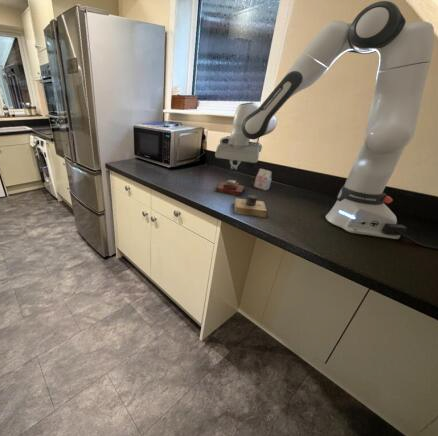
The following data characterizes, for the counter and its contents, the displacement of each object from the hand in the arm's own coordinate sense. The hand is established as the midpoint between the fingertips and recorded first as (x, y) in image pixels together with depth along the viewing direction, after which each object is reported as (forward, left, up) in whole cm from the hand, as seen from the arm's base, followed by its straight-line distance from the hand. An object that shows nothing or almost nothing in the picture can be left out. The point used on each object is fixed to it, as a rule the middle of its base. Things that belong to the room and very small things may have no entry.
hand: (233, 168), depth 117 cm
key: (0, 0, -8) cm, 8 cm away
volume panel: (-12, +20, -12) cm, 26 cm away
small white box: (-14, -13, -12) cm, 23 cm away
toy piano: (0, 0, -12) cm, 12 cm away
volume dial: (-12, +20, -9) cm, 25 cm away
